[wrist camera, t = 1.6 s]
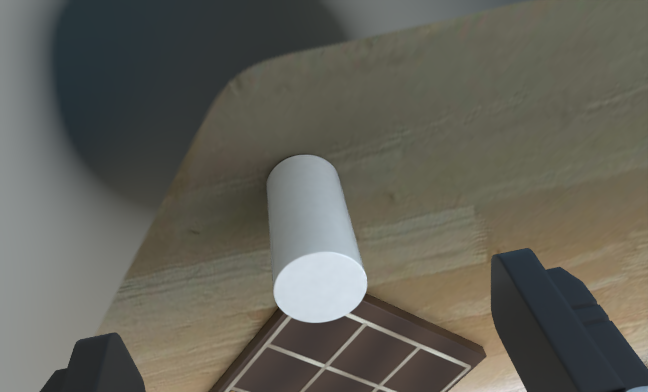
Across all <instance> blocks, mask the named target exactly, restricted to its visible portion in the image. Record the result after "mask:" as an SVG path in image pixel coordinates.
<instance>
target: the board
mask: <svg viewBox="0 0 648 392" xmlns="http://www.w3.org/2000/svg"><path fill="white" fill-rule="evenodd" d="M485 357H486V353H485V351H484V349H483V347H482V346H480V345H478V344H475V343H473V342H471V341H469V340H467V339H464V338H462V337H460V336H458V335H456V334H453V333H451V332H449V331H447V330H445V329H443V328H440V327H438V326H436V325H434V324H432V323H429V322H427V321H425V320H423V319H421V318H418V317H416V316H414V315H412V314H410V313H407V312H405V311H403V310H401V309H399V308H396V307H394V306H392V305H390V304H388V303H385V302H383V301H381V300H379V299H377V298H374V297H372V296H370V295H368V294H366V293H365V295H364V297H363V299H362V301H361V302H360V303H359V305H358V306H357V307H356V308H355V309H354V310H352V311H351V312H350V313H348V314H346V315H345V316H343V317H341V318H338V319H335V320H332V321H328V322H321V323H310V322H303V321H299V320H296V319H294V318H292V317H290V316H288V315H287V314H285V313H284V312H283V311H282V310H281V309H280V308H279V309H278V310H277V311H276V312H275V314H274V315H273V316H272V317H271V318H270V320H269V321H268V322H267V323H266V324H265V326H264V327H263V328H262V329H261V330H260V332H259V333H258V334H257V335H256V336H255V338H254V339H253V340H252V341H251V342H250V344H249V345H248V346H247V347H246V348H245V350H244V351H243V352H242V353H241V354H240V356H239V357H238V358H237V359H236V360H235V362H234V363H233V364H232V365H231V366H230V368H229V369H228V370H227V371H226V373H225V374H224V375H223V376H222V377H221V379H220V380H219V381H218V382H217V383H216V385H215V386H214V387H213V388H212V389H211V391H210V392H448V391H449V390H450V389H451V388H452V387H453V386H454V385H456V384H457V383H458V382H459V381H460V380H461V379H462V378H463V377H464V376H466V375H467V374H468V373H469V372H470V371H471V370H472V369H473V368H474V367H476V366H477V365H478V364H479V363H480V362H481V361H482V360H483V359H484V358H485Z"/></svg>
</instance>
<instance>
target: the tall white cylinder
mask: <svg viewBox="0 0 648 392" xmlns="http://www.w3.org/2000/svg"><path fill="white" fill-rule="evenodd" d="M266 191H267V206H268V221H269V236H270V251H271V266H272V281H273V294H274V299H275V301H276V303H277V305H278V306H279V308H280V309H281V310H282V311H283V312H284V313H285V314H287V315H288V316H290V317H292V318H294V319H296V320H299V321H303V322H310V323H321V322H328V321H332V320H335V319H338V318H341V317H343V316H345V315H346V314H348V313H350V312H351V311H352V310H354V309H355V308H356V307H357V306H358V305H359V303H360V302H361V301H362V299H363V297H364V295H365V293H366V289H367V277H366V273H365V270H364V266H363V262H362V259H361V255H360V252H359V248H358V244H357V241H356V237H355V233H354V230H353V226H352V222H351V219H350V215H349V212H348V208H347V204H346V201H345V197H344V193H343V190H342V186H341V182H340V179H339V175H338V173H337V171H336V170H335V168H334V167H333V166H332V165H331V164H330V163H329V162H328V161H326V160H325V159H323V158H320V157H318V156H314V155H296V156H292V157H290V158H287V159H285V160H283V161H282V162H280V163H279V164H278V165H277V166H276V167H275V168H274V169H273V170H272V172H271V173H270V175H269V177H268V180H267V185H266Z"/></svg>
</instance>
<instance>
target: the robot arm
mask: <svg viewBox="0 0 648 392" xmlns="http://www.w3.org/2000/svg"><path fill="white" fill-rule="evenodd" d="M491 312H492V317H493V321H494V324H495V328H496V330H497V333H498V335H499V337H500V339H501V341H502V343H503V345H504V347H505V349H506V351H507V353H508V355H509V357H510V359H511V361H512V363H513V365H514V367H515V369H516V371H517V373H518V374H519V376H520V378H521V380H522V382H523V384H524V386H525V388H526V390H527V392H648V369H647V367H646V366H645V365H644V363H643V362H642V361H641V359H640V358H639V357H638V355H637V354H636V353H635V351H634V350H633V349H632V347H631V346H630V345H629V343H628V342H627V341H626V339H625V338H624V337H623V335H622V334H621V333H620V331H619V330H618V329H617V327H616V326H615V325H614V323H613V322H612V321H610V320H609V318H608V315H607V314H606V313H605V311H604V310H603V309H602V307H601V306H600V305H598V304H597V301H596V299H595V298H594V297H593V295H592V294H591V293H590V291H589V290H588V289H587V287H586V286H585V285H584V283H583V282H582V281H580V280H579V279H577V278H576V277H574V276H573V275H571V274H570V273H568V272H567V271H565V270H564V269H562V268H561V267H557V268H552V269H547V270H545V269H544V267H543V266H542V264H541V263H540V261H539V260H538V258H537V257H536V255H535V254H534V253H533V251H532V250H531V249H529V248H525V249H520V250H515V251H511V252H506V253H501V254H496V255H493V256H492V259H491ZM40 392H146V391H145V385H144V382H143V379H142V377H141V375H140V373H139V371H138V369H137V367H136V365H135V363H134V361H133V360H132V358H131V356H130V354H129V352H128V350H127V348H126V346H125V344H124V343H123V341H122V339H121V337H120V336H119V335H118V334H117V333H109V334H105V335H100V336H95V337H90V338H85V339H80V340H79V341H77V342H76V344H75V346H74V349H73V352H72V355H71V358H70V361H69V364H68V368H66V369H61V370H56V371H55V372H54V374H53V375H52V376H51V377H50V379H49V380H48V381H47V383H46V384H45V385H44V387H43V388H42V389H41V391H40Z"/></svg>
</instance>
